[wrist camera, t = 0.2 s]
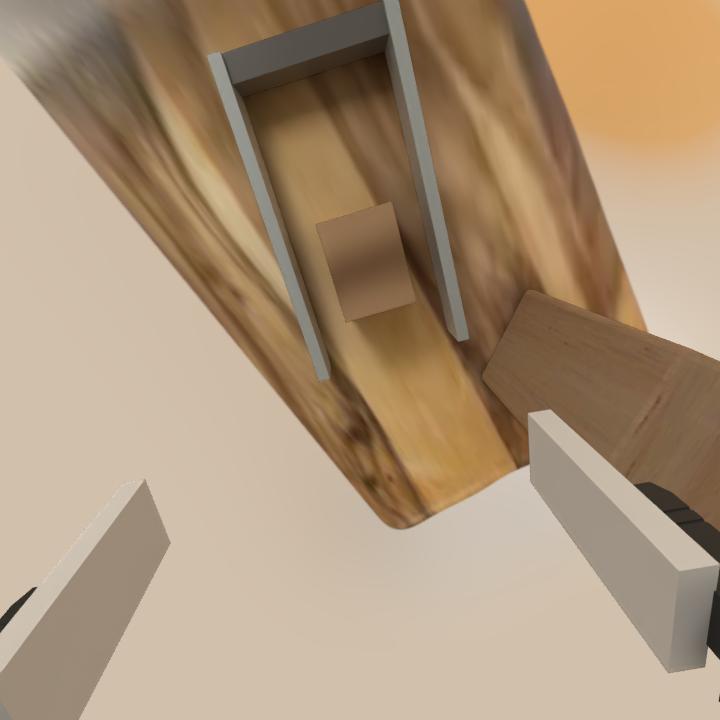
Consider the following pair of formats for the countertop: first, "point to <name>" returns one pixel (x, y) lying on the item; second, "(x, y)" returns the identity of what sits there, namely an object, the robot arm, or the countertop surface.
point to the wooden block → (616, 395)
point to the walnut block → (367, 261)
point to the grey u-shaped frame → (387, 34)
